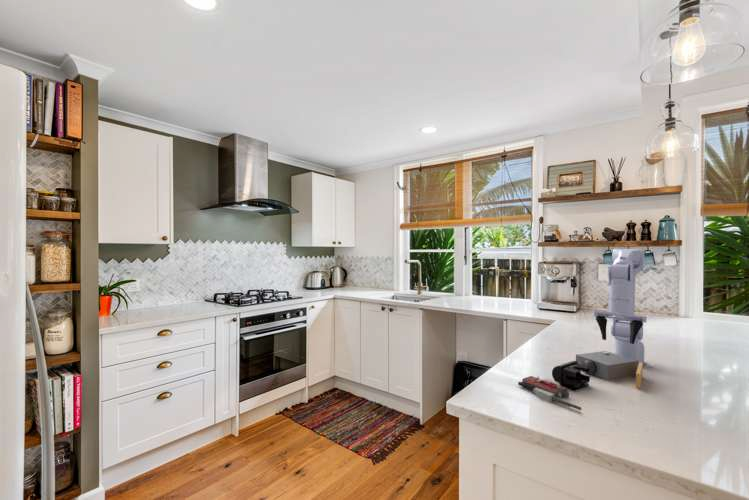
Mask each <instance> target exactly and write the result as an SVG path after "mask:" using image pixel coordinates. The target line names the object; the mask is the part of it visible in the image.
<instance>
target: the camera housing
mask: <svg viewBox="0 0 749 500" xmlns="http://www.w3.org/2000/svg"><path fill="white" fill-rule="evenodd" d="M575 361H578V364H580V365H584V366H587V367H590V372H586V371H583V372H584V373H585V374H586V375H587V374H588V375H592V376H595V377H598V378H601V379H603V380H606V381H612V380H617V379H623V378H629V377H636V372H637V368H638V365H639V361H638V360H634V359H631V358H628V357H624V356H621V355H617V354H615V352H610V351H606V350H604V351H603V350H602V351H595V352H594V351H593V352H587V353H585V352H584V353H579V354H577V353H576V354H575Z"/></svg>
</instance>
